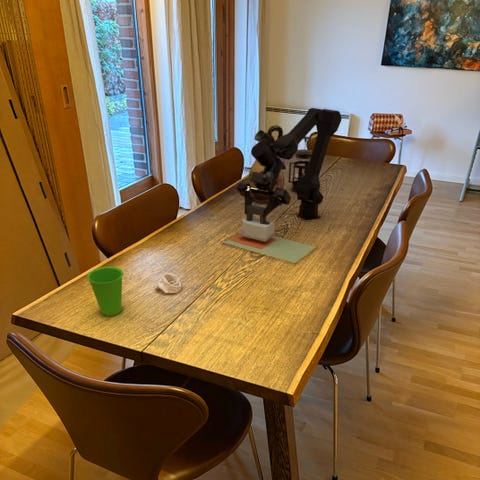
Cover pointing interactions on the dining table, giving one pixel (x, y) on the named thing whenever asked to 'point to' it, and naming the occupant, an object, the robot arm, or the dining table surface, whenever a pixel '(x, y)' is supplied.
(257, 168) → the ceramic jug
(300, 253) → the ironing mat
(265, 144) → the robot arm
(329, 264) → the dining table surface
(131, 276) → the dining table surface
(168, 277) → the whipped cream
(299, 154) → the french press
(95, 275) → the cup
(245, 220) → the iron
